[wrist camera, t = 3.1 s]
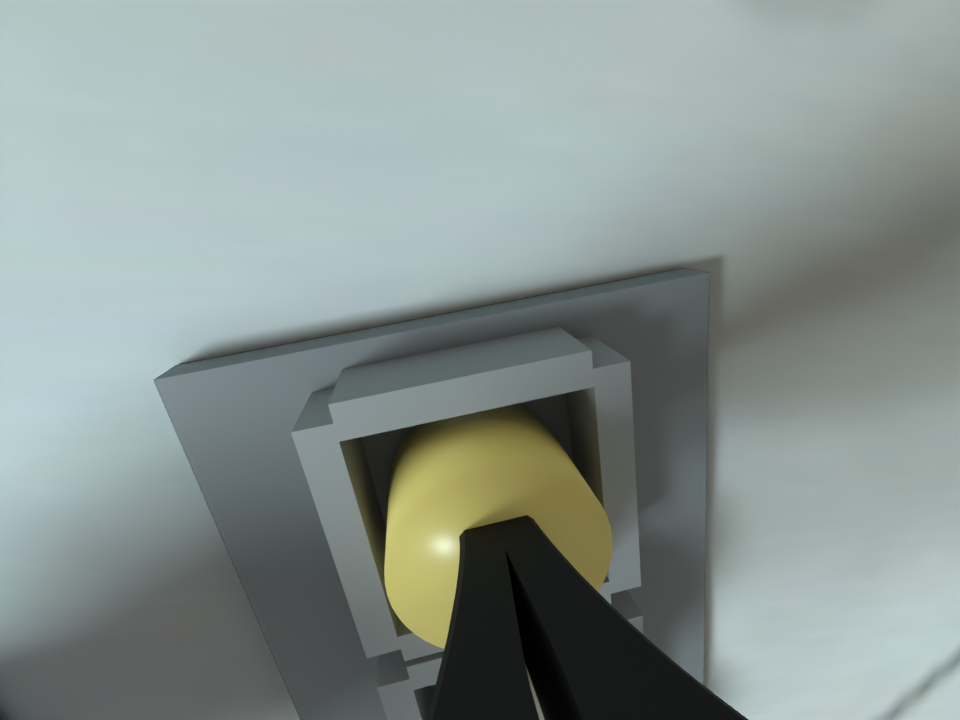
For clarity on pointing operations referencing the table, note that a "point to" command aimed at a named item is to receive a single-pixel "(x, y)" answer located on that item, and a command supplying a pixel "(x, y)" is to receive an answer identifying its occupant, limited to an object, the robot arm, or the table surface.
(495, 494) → the button mustard
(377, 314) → the table surface
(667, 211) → the table surface
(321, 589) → the panel
